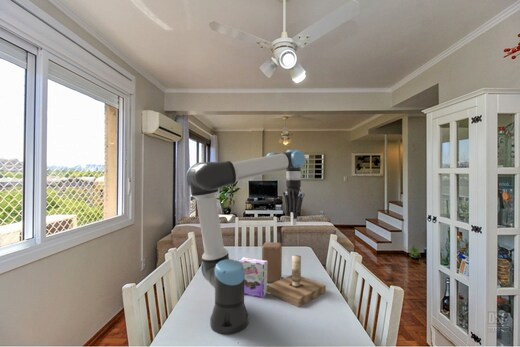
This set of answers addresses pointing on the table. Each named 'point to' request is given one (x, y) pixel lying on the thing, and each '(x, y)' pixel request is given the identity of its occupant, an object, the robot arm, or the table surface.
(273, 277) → the wooden block
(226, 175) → the robot arm
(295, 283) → the peg
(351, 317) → the table surface
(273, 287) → the board
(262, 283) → the candy box
